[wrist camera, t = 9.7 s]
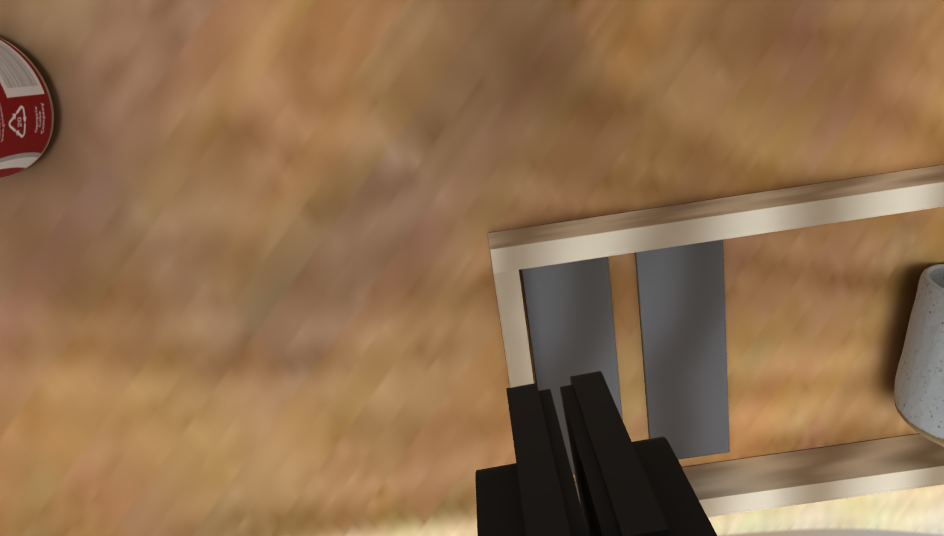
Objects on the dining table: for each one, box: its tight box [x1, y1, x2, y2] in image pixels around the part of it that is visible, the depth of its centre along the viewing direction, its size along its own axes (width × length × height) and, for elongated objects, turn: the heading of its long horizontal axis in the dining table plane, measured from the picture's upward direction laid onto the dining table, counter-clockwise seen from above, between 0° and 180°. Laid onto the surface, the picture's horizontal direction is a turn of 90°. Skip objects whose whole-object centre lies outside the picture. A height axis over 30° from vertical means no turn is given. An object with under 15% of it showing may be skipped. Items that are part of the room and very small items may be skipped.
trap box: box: [487, 165, 944, 517], centre depth 35 cm, size 32×17×3 cm, turn 98°
